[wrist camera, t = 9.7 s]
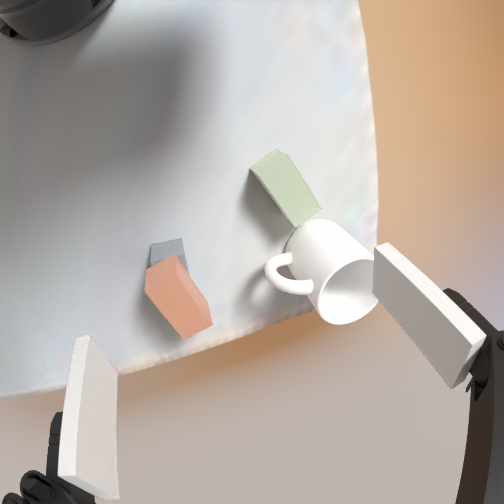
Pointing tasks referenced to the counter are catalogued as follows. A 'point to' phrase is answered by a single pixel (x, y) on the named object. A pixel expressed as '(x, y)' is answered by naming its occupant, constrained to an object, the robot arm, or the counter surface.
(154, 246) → the slate brick
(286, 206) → the sage brick
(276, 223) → the counter surface
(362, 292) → the mug
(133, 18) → the counter surface
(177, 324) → the terracotta brick
